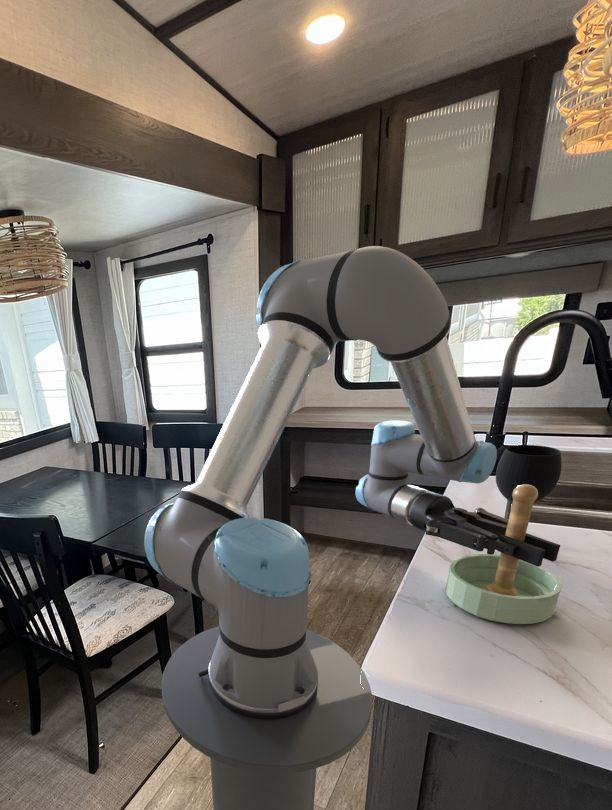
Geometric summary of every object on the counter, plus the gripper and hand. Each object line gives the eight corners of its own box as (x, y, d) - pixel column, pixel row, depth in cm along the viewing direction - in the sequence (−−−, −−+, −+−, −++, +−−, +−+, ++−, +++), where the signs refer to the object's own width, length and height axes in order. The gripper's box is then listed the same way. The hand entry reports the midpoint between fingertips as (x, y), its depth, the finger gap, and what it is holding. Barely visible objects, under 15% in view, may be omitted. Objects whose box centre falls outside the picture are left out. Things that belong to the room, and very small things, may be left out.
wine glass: (475, 542, 102) (494, 452, 94) (490, 527, 108) (509, 441, 100) (534, 555, 95) (559, 459, 86) (546, 538, 101) (571, 447, 93)
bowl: (467, 627, 76) (473, 598, 73) (432, 580, 90) (436, 554, 87) (574, 629, 73) (584, 599, 71) (521, 580, 87) (528, 553, 85)
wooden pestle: (492, 602, 79) (519, 489, 71) (480, 589, 83) (504, 480, 75) (521, 602, 78) (551, 488, 70) (508, 589, 82) (535, 479, 74)
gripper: (449, 518, 96) (577, 565, 75) (388, 535, 91) (506, 589, 71) (455, 484, 93) (590, 522, 72) (393, 499, 88) (517, 545, 68)
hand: (548, 555), depth 72 cm, fingers closed on wooden pestle, 3 cm apart
